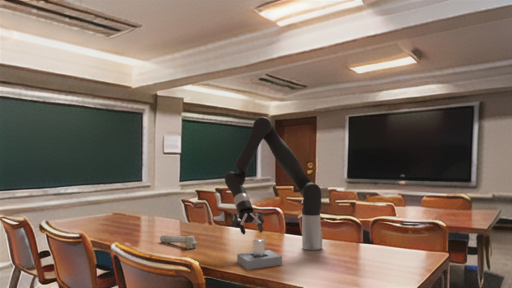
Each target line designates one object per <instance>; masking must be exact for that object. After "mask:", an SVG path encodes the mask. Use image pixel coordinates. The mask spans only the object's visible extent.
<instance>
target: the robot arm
mask: <svg viewBox="0 0 512 288" xmlns="http://www.w3.org/2000/svg"><path fill="white" fill-rule="evenodd" d="M263 140H264V142H265V143H266V144H267V145H268V147H269V149H270V151H271V153H272V155H273V156H274V159H275V160H276V162H277V163H278V164H279V166H280V168H282V169H283V171H284V172H285V173H286V174H287V175H288V177H289V178H290V179H291V180H292V181H293V183H294V184H295V186H296V187H297V189H298V191H299V193H300V195H301V196H302V203H303V204H302V208H301V209H302V210H301V220H302V221H301V232H302V234H301V235H302V236H301V240H302V241H301V243H302V245H301V246H302V247H301V248H302V249H304V250H307V251H318V250H321V249H323V230H322V229H321V210H322V190H321V187H320V186H319V185H318V184H316V183H314V182H313V181H311V179H310V178H309V177H308V175H307V174H306V173H305V171H304V170H303V167H302V165H301V163H300V161H299V159H298V158H297V156H296V154H295V153H294V152H293V150H292V149H291V147H290V146H288V145H287V143H286V142H285V141H284V140H283V139H282V138H281V137H280V135H279V134H278V133H277V130H275V128H274V125H273V124H272V122H271V120H270V118H267V117H265V116H259V117H257V118H256V119H255V120H254V122H253V125H252V129H251V132H250V135H249V137H248V140H247V142H246V144H245V145H244V146H243V149H242V150H241V152H240V154H238V155H239V156H238V158H237V159H236V162H235V163H234V167H235V168H236V169H237V170H238V172H234V171H228V172H226V173H225V175H224V183H225V186H226V187H227V189H229V192H231V194H232V197H233V201H234V206H235V208H236V211H237V213H234V214H233V215H232V216H233V217H232V220H233V223H234V227H235V228H239V230H240V233H241V234H242V235H244V236H245V235H246V227H245V226H244V223H245V224H248V223H249V224H251V223H252V224H254V225H256V226H257V229H258V231H259V233H260V234H261V233H263V231H264V227H263V224H264V223H265V219H264V217H263V215H262V212H261V211H258V212H256V213H255V212H254V208H253V205H252V202H251V199H250V197H249V196H248V192H247V191H246V188H245V186H243V185H244V184H245V181H246V177H247V173H248V169H249V167H250V165H251V163H252V161H253V159H254V157H255V155H256V152H257V150H258V148H259V147H260V144H261V142H262V141H263ZM239 220H240V222H239Z"/></svg>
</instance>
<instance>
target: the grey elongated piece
mask: <svg viewBox="0 0 512 288" xmlns="http://www.w3.org/2000/svg"><path fill="white" fill-rule="evenodd" d="M160 242H161V243H162V242H163V243H164V244H169V243H170V244H179V243H180V244H183V243H184V245H185V249H186V250H187V249H188V250H189V249H196V248H197V241H196V240H195V236H194V235H190V236H181V235H170V234H166V235H162V236H160Z"/></svg>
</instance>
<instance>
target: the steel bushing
mask: <svg viewBox="0 0 512 288" xmlns="http://www.w3.org/2000/svg"><path fill="white" fill-rule="evenodd" d="M252 243H253V246H252V247H253V249H252V250H253V251H252V252H253V257H255V258H260V257H265V250H266V249H265V247H266V246H265V245H266V241H265V239H263V238H256V239H253V241H252Z"/></svg>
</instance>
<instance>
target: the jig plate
mask: <svg viewBox="0 0 512 288" xmlns="http://www.w3.org/2000/svg"><path fill="white" fill-rule="evenodd" d="M236 261H237V263H238V264H239V265H241V266H242V267H244V268H245V269H246V270H254V269H261V268H269V267H274V266H275V267H276V266H282V265H283V257H282V255H279V254H278V253H276V252H274V251H272V250H271V249H267V250H266V249H265V257H260V258H255V257H253V251H251V252H250V251H249V252H244V253H243V252H242V253H237V254H236Z"/></svg>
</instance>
